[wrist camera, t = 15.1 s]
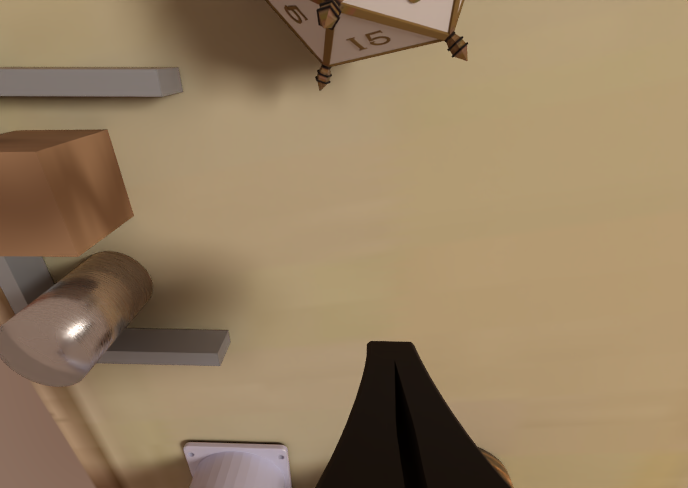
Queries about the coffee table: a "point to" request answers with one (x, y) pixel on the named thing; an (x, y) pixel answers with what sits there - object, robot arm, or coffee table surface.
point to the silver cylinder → (75, 320)
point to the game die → (369, 28)
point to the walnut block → (58, 192)
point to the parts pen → (30, 271)
